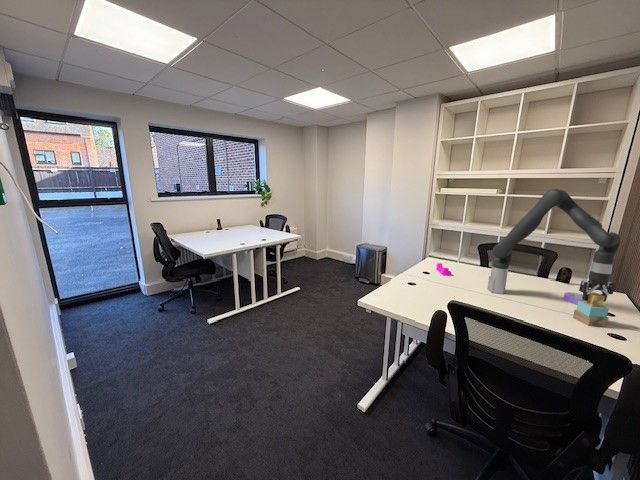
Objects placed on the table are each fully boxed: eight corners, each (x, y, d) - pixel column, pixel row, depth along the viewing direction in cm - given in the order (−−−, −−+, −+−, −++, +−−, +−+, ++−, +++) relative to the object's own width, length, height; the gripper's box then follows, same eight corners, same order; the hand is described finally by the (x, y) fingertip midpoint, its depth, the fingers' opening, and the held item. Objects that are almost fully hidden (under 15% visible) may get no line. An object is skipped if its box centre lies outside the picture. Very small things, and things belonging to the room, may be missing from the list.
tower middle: (589, 316, 136) (591, 307, 135) (576, 309, 143) (578, 301, 142) (606, 317, 135) (608, 308, 134) (592, 310, 142) (594, 301, 141)
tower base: (588, 326, 136) (590, 317, 135) (572, 317, 145) (574, 309, 144) (606, 326, 135) (608, 318, 134) (590, 318, 144) (592, 309, 143)
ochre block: (591, 306, 136) (593, 295, 135) (583, 302, 141) (585, 291, 140) (602, 307, 135) (604, 296, 134) (593, 302, 140) (596, 292, 139)
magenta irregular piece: (451, 277, 209) (451, 268, 207) (442, 277, 209) (443, 268, 208) (443, 271, 223) (444, 263, 222) (436, 271, 224) (436, 263, 222)
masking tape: (568, 303, 162) (570, 297, 162) (559, 296, 173) (560, 291, 172) (593, 306, 158) (594, 300, 158) (582, 299, 169) (583, 293, 168)
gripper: (591, 272, 132) (585, 303, 135) (623, 274, 130) (616, 304, 133) (578, 268, 139) (572, 297, 142) (608, 269, 137) (602, 298, 141)
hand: (593, 300), depth 138 cm, fingers open, 8 cm apart
